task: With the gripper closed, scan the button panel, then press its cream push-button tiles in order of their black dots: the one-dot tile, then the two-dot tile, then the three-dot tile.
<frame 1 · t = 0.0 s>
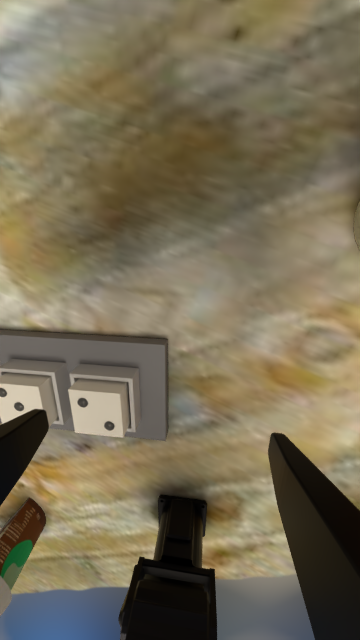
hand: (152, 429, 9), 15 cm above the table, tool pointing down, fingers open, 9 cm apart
tile three dots: (26, 400, 23), point 4 cm above the table, slide at 0.0 cm
food container: (34, 520, 36), on the table
tile two dots: (100, 407, 22), point 4 cm above the table, slide at 0.0 cm
button panel: (52, 378, 27), on the table
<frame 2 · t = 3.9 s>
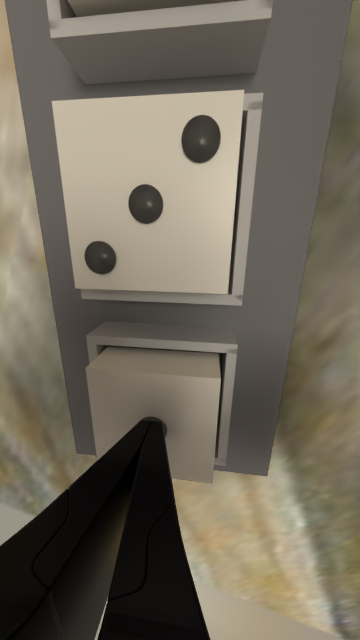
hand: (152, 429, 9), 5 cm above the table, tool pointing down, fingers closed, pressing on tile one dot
tile three dots: (153, 210, 7), point 4 cm above the table, slide at 0.0 cm
tile one dot: (157, 412, 10), point 4 cm above the table, slide at 0.0 cm, touching gripper
button panel: (172, 223, 11), on the table
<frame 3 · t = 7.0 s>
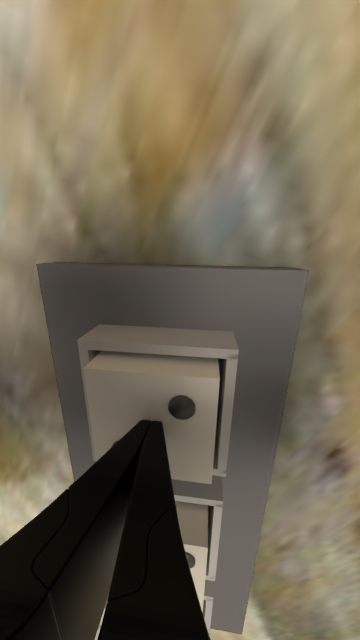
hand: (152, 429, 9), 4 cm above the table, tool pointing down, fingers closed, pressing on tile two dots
tile three dots: (156, 548, 12), point 4 cm above the table, slide at 0.0 cm
tile two dots: (156, 412, 10), point 3 cm above the table, slide at 0.6 cm, touching gripper
button panel: (169, 473, 15), on the table
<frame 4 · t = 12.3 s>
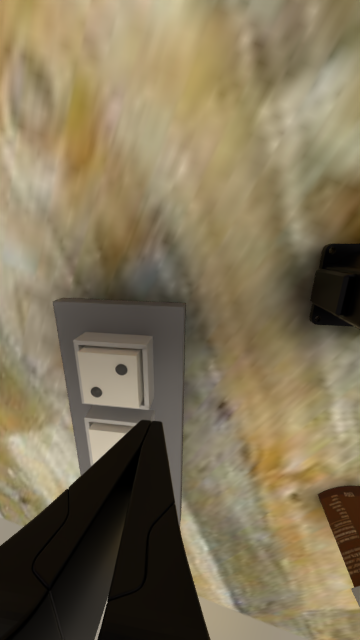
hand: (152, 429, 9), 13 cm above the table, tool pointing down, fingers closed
tile three dots: (119, 444, 22), point 3 cm above the table, slide at 0.9 cm
tile two dots: (113, 374, 20), point 3 cm above the table, slide at 0.8 cm
button panel: (130, 421, 25), on the table
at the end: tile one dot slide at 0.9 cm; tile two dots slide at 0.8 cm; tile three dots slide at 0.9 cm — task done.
